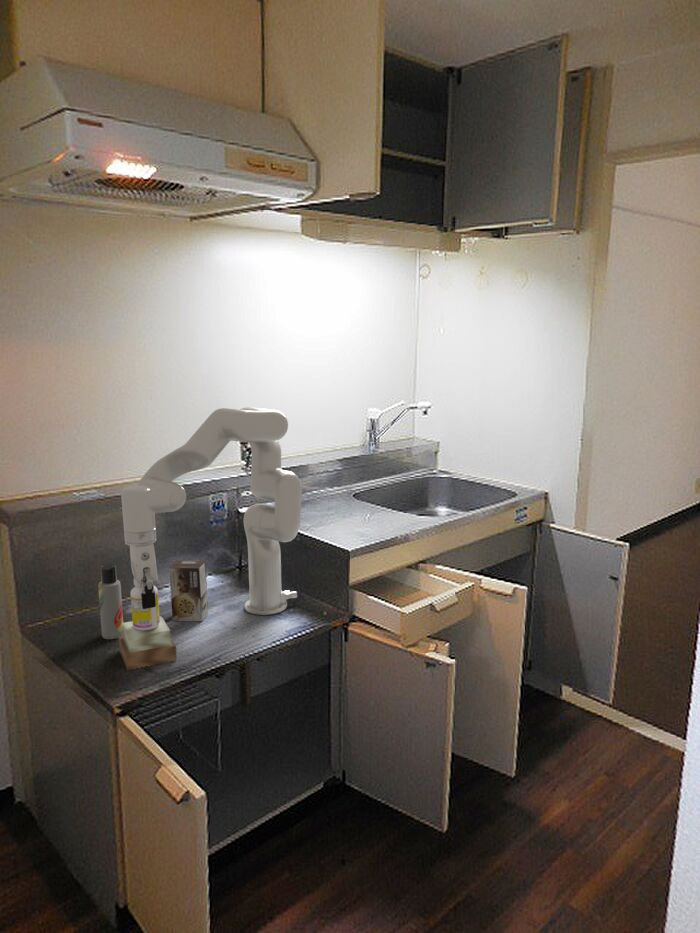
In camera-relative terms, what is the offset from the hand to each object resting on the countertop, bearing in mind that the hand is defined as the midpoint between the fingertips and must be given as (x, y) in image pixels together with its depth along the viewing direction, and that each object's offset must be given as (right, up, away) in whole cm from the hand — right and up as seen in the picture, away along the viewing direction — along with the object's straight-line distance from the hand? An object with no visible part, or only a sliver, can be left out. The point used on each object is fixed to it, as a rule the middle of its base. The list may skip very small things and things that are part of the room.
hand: (145, 600), depth 183 cm
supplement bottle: (0, -7, +1) cm, 7 cm away
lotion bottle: (-13, -12, +15) cm, 23 cm away
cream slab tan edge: (0, -15, +3) cm, 15 cm away
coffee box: (+5, -10, +27) cm, 29 cm away
